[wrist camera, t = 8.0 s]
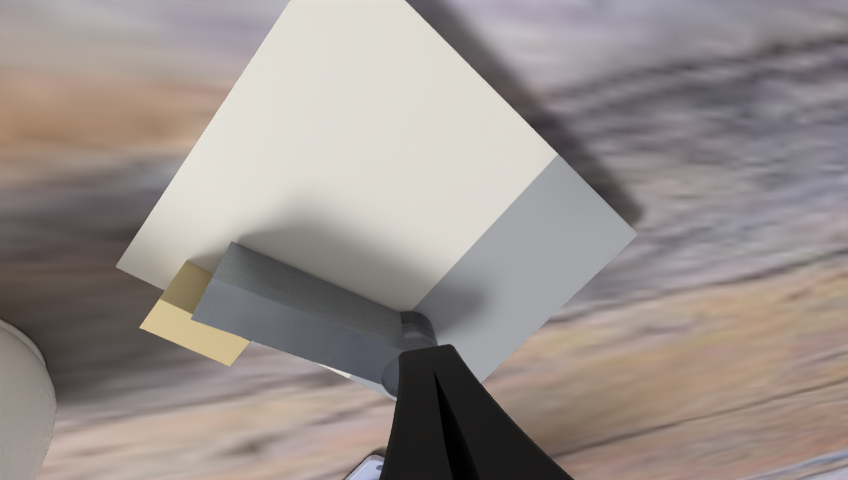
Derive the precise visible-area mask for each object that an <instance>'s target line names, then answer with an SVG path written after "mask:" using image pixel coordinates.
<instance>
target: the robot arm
mask: <svg viewBox="0 0 848 480" xmlns="http://www.w3.org/2000/svg"><path fill="white" fill-rule="evenodd" d="M398 359H399V383H398V393H397V401H396V407H395V412H394V418H393V424H392V429H391V434H390V438H389V442H388V446H387V451H386V455H385V458H384V457H381V456H379V455H371V456H369V457H368V458H367V459H366V460H365V461H364V462H362V463H361V464H360V465H359V466H358V467H357V468H356V469H355V470H354V471H353V472H352V473H351V474H350V475H349V476H348V477H347V478H346V479H345V480H574V479H573V478H572V477H571V476H570V475H568V474H567V473H566V472H565V471H564V470H563V469H562V468H561V467H560V466H558V465H557V464H556V463H555V462H554V461H553V460H552V459H551V458H550V457H549V456H547V455H546V454H545V453H544V452H543V451H542V450H541V449H540V448H539V447H538V446H537V445H536V444H535V443H534V442H533V441H532V440H531V439H530V438H529V437H528V436H527V435H526V434H525V433H524V432H523V431H522V430H521V429H520V428H519V427H518V426H517V425H516V424H515V422H514V421H513V420H512V419H511V418H510V417H509V416H508V415H507V414H506V413H505V412H504V410H503V409H502V408H501V407H500V406H499V405H498V403H497V402H496V401H495V400H494V399H493V398H492V397H491V395H490V394H489V393H488V392H487V391H486V389H485V388H484V387H483V386H482V384H481V383H480V382H479V381H478V379H477V378H476V377H475V376H474V374H473V373H472V372H471V370H470V369H469V368H468V366H467V365H466V363H465V362H464V361H463V359H462V358H461V356H460V355H459V353H458V352H457V350H456V348H455V347H454V346H453V345H451V344H445V345H440V346H434V347H428V348H422V349H417V350H411V351H405V352H402V353H401V354H400V355H399V356H398Z"/></svg>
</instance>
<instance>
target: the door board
mask: <svg viewBox="0 0 848 480" xmlns="http://www.w3.org/2000/svg"><path fill="white" fill-rule="evenodd" d="M637 235H638V234H637V233H636V232H635V231H634V230H633V229H632V228H631V227H630V226H629V225H628V224H627V223H626V222H625V221H624V220H623V219H622V218H621V217H620V216H619V215H618V214H617V213H616V212H615V211H614V210H613V209H612V208H611V207H610V206H609V205H608V204H607V203H606V202H605V201H604V200H603V199H602V198H601V197H600V196H599V195H598V194H597V193H596V192H595V191H594V190H593V189H592V188H591V187H590V186H589V185H588V184H587V183H586V182H585V181H584V180H583V179H582V178H581V177H580V176H579V175H578V174H577V173H576V171H575V170H574V169H573V168H572V167H571V166H570V165H569V164H568V163H567V162H566V161H565V160H564V159H563V158H562V157H561V156H560V155H559V154H558V153H557V152H556V151H555V150H554V149H553V148H552V147H551V146H550V145H549V144H548V143H547V142H546V141H545V140H544V139H543V138H542V137H541V136H540V135H539V134H538V133H537V132H536V131H535V130H534V129H533V128H532V127H531V126H530V125H529V124H528V123H527V122H526V121H525V120H524V119H523V118H522V117H521V116H520V115H519V114H518V113H517V112H516V111H515V110H514V109H513V108H512V107H511V106H510V105H509V104H508V103H507V102H506V101H505V100H504V99H503V98H502V97H501V96H500V95H499V94H498V93H497V92H496V91H495V90H494V89H493V88H492V87H491V86H490V85H489V84H488V83H487V82H486V81H485V80H484V79H483V78H482V77H481V76H480V75H479V74H478V73H477V72H476V71H475V70H474V69H473V68H472V67H471V66H470V65H469V64H468V63H467V62H466V61H465V60H464V59H463V58H462V57H461V56H460V55H459V54H458V53H457V52H456V51H455V50H454V49H453V48H452V47H451V46H450V45H449V44H448V43H447V42H446V41H445V40H444V39H443V38H442V37H441V36H440V35H439V34H438V33H437V32H436V31H435V30H434V29H433V28H432V27H431V26H430V25H429V24H428V23H427V22H426V21H425V20H424V19H423V18H422V17H421V16H420V15H419V14H418V13H417V12H416V11H415V10H414V9H413V8H412V7H411V6H410V5H409V4H408V3H407V2H406V1H405V0H290V2H289V3H288V5H287V6H286V8H285V9H284V11H283V12H282V14H281V16H280V17H279V19H278V20H277V22H276V23H275V25H274V26H273V28H272V29H271V31H270V32H269V34H268V35H267V37H266V38H265V40H264V41H263V43H262V44H261V46H260V47H259V49H258V50H257V52H256V54H255V55H254V57H253V58H252V60H251V61H250V63H249V64H248V66H247V67H246V69H245V70H244V72H243V73H242V75H241V76H240V78H239V79H238V81H237V82H236V84H235V85H234V87H233V89H232V90H231V92H230V93H229V95H228V96H227V98H226V99H225V101H224V102H223V104H222V105H221V107H220V108H219V110H218V111H217V113H216V114H215V116H214V117H213V119H212V120H211V122H210V123H209V125H208V127H207V128H206V130H205V131H204V133H203V134H202V136H201V137H200V139H199V140H198V142H197V143H196V145H195V146H194V148H193V149H192V151H191V152H190V154H189V155H188V157H187V158H186V160H185V162H184V163H183V165H182V166H181V168H180V169H179V171H178V172H177V174H176V175H175V177H174V178H173V180H172V181H171V183H170V184H169V186H168V187H167V189H166V190H165V192H164V193H163V195H162V196H161V198H160V200H159V201H158V203H157V204H156V206H155V207H154V209H153V210H152V212H151V213H150V215H149V216H148V218H147V219H146V221H145V222H144V224H143V225H142V227H141V228H140V230H139V231H138V233H137V235H136V236H135V238H134V239H133V241H132V242H131V244H130V245H129V247H128V248H127V250H126V251H125V253H124V254H123V256H122V257H121V259H120V260H119V262H118V263H117V265H116V266H115V267H116V268H118V269H120V270H122V271H124V272H127V273H129V274H131V275H133V276H135V277H137V278H139V279H141V280H143V281H145V282H148V283H150V284H152V285H154V286H156V287H158V288H160V289H162V290H164V293H163V294H162V295H161V297H160V298H159V300H158V301H157V303H156V304H155V306H154V307H153V308H152V310H151V311H150V313H149V314H148V316H147V317H146V319H145V320H144V321H143V323H142V324H141V326H140V327H139V328H141V329H144V330H146V331H148V332H151V333H153V334H155V335H158V336H160V337H162V338H165V339H167V340H169V341H172V342H174V343H176V344H179V345H181V346H183V347H186V348H188V349H190V350H193V351H195V352H197V353H200V354H202V355H204V356H207V357H209V358H211V359H214V360H216V361H218V362H221V363H223V364H225V365H228V366H231V364H232V363H233V362H234V361H235V359H236V358H237V357H238V356H239V355H240V353H241V352H242V351H243V350H244V348H245V347H246V346H247V345H248V344H249V342H250V341H251V340H249V339H246V338H243V337H240V336H237V335H234V334H231V333H228V332H225V331H222V330H219V329H216V328H213V327H210V326H208V325H205V324H202V323H199V322H196V321H193V320H190V319H191V317H192V315H193V314H194V312H195V310H196V308H197V306H198V304H199V302H200V300H201V298H202V296H203V294H204V292H205V290H206V288H207V286H208V284H209V282H210V280H211V278H212V276H213V275H214V273H215V271H216V269H217V267H218V265H219V263H220V262H221V260H222V258H223V256H224V254H225V252H226V250H227V249H228V247H229V245H230V243H231V241H233V242H235V243H238V244H240V245H242V246H245V247H247V248H249V249H252V250H254V251H256V252H259V253H261V254H263V255H266V256H268V257H270V258H273V259H275V260H277V261H280V262H282V263H285V264H287V265H289V266H292V267H294V268H296V269H299V270H301V271H303V272H306V273H308V274H310V275H313V276H315V277H317V278H320V279H322V280H324V281H327V282H329V283H332V284H334V285H336V286H339V287H341V288H343V289H346V290H348V291H350V292H353V293H355V294H357V295H360V296H362V297H364V298H367V299H369V300H372V301H374V302H376V303H379V304H381V305H383V306H386V307H388V308H390V309H393V310H395V311H397V312H404V311H413V312H418V313H421V314H423V315H424V316H426V317H427V318H428V319H429V320H430V321H431V323H432V326H433V329H434V332H435V336H436V339H437V342H438V346H440V345H445V344H451V345H453V346H454V347H455V348H456V350H457V352H458V353H459V355H460V356H461V358H462V359H463V361H464V362H465V363H466V365H467V366H468V368H469V369H470V370H471V372H472V373H473V374H474V376H475V377H476V378H477V379H478V381H479V382H480V383H481V382H482V381H483V380H484V379H485V378H487V377H488V376H489V375H490V374H491V373H492V372H493V371H494V370H495V369H496V368H497V367H498V366H499V365H500V364H501V363H502V362H503V361H505V360H506V359H507V358H508V357H509V356H510V355H511V354H512V353H513V352H514V351H515V350H516V349H517V348H518V347H519V346H520V345H522V344H523V343H524V342H525V341H526V340H527V339H528V338H529V337H530V336H531V335H532V334H533V333H534V332H535V331H536V330H537V329H538V328H540V327H541V326H542V325H543V324H544V323H545V322H546V321H547V320H548V319H549V318H550V317H551V316H552V315H553V314H554V313H555V312H557V311H558V310H559V309H560V308H561V307H562V306H563V305H564V304H565V303H566V302H567V301H568V300H569V299H570V298H571V297H572V296H573V295H575V294H576V293H577V292H578V291H579V290H580V289H581V288H582V287H583V286H584V285H585V284H586V283H587V282H588V281H589V280H590V279H592V278H593V277H594V276H595V275H596V274H597V273H598V272H599V271H600V270H601V269H602V268H603V267H604V266H605V265H606V264H607V263H608V262H610V261H611V260H612V259H613V258H614V257H615V256H616V255H617V254H618V253H619V252H620V251H621V250H622V249H623V248H624V247H625V246H627V245H628V244H629V243H630V242H631V241H632V240H633V239H634V238H635V237H636V236H637ZM318 364H319V363H318ZM320 365H322V364H320ZM322 366H324V367H326V368H328V369H330V370H332V371H334V372H337V373H339V374H341V375H343V376H345V377H347V378H349V379H351V380H353V381H355V382H358V383H360V384H362V385H364V386H366V387H368V388H370V389H372V390H374V391H376V392H379V393H381V394H383V395H385V396H387V397H389V398H391V399H393V400H395V401H397V398H396V397H394V396H392V395H390V394H389V393H388V392H387V391H386V390H385V389H384V387H383V385H381V384H378V383H375V382H372V381H369V380H366V379H363V378H360V377H357V376H354V375H351V374H348V373H345V372H342V371H339V370H337V369H334V368H331V367H328V366H325V365H322Z"/></svg>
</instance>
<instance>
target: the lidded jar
mask: <svg viewBox="0 0 848 480" xmlns="http://www.w3.org/2000/svg"><path fill="white" fill-rule="evenodd" d="M56 413H57V408H56V398H55V390H54V387H53V384H52V381H51V379H50V376H49V374H48V372H47V369H46V362H45V360H44V357H43V355H42V353H41V351H40V350H39V348H38V347H37V345H36V344H35V343H34V342H33V341H32V340H31V339H30V338H29V337H28V336H27V335H26V334H24V333H23V332H22V331H21V330H19V329H18V328H16V327H15V326H13V325H11V324H9V323H8V322H6V321H4V320H2V319H0V480H35V478H36V476H37V474H38V473H39V471H40V468H41V466H42V464H43V461H44V459H45V456H46V454H47V451H48V449H49V446H50V444H51V441H52V438H53V433H54V427H55V421H56Z"/></svg>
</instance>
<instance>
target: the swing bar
mask: <svg viewBox="0 0 848 480" xmlns="http://www.w3.org/2000/svg"><path fill="white" fill-rule="evenodd" d="M190 320H193V321H196V322H199V323H202V324H205V325H208V326H210V327H213V328H216V329H219V330H222V331H225V332H228V333H231V334H234V335H237V336H240V337H243V338H246V339H249V340H252V341H254V342H257V343H260V344H263V345H266V346H269V347H272V348H275V349H278V350H281V351H284V352H287V353H290V354H293V355H295V356H298V357H301V358H304V359H307V360H310V361H313V362H316V363H319V364H322V365H325V366H328V367H331V368H334V369H337V370H339V371H342V372H345V373H348V374H351V375H354V376H357V377H360V378H363V379H366V380H369V381H372V382H375V383H378V384H381V385H383V387H384V389H385V390H386V391H387V392H388V393H389V394H390V395H392V396H394V397H396V398H397V393H398V383H399V359H398V356H399V355H400V354H401V353H402V352H405V351H411V350H417V349H422V348H428V347H434V346H438V342H437V339H436V336H435V332H434V329H433V326H432V323H431V321H430V320H429V319H428V318H427V317H426V316H424V315H423V314H421V313H418V312H413V311H404V312H397V311H395V310H393V309H390V308H388V307H386V306H383V305H381V304H379V303H376V302H374V301H372V300H369V299H367V298H364V297H362V296H360V295H357V294H355V293H353V292H350V291H348V290H346V289H343V288H341V287H339V286H336V285H334V284H332V283H329V282H327V281H324V280H322V279H320V278H317V277H315V276H313V275H310V274H308V273H306V272H303V271H301V270H299V269H296V268H294V267H292V266H289V265H287V264H285V263H282V262H280V261H277V260H275V259H273V258H270V257H268V256H266V255H263V254H261V253H259V252H256V251H254V250H252V249H249V248H247V247H245V246H242V245H240V244H238V243H235V242H233V241H231V243H230V245H229V247H228V249H227V250H226V252H225V254H224V256H223V258H222V260H221V262H220V263H219V265H218V267H217V269H216V271H215V273H214V275H213V276H212V278H211V280H210V282H209V284H208V286H207V288H206V290H205V292H204V294H203V296H202V298H201V300H200V302H199V304H198V306H197V308H196V310H195V312H194V314H193V315H192V317H191V319H190Z"/></svg>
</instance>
